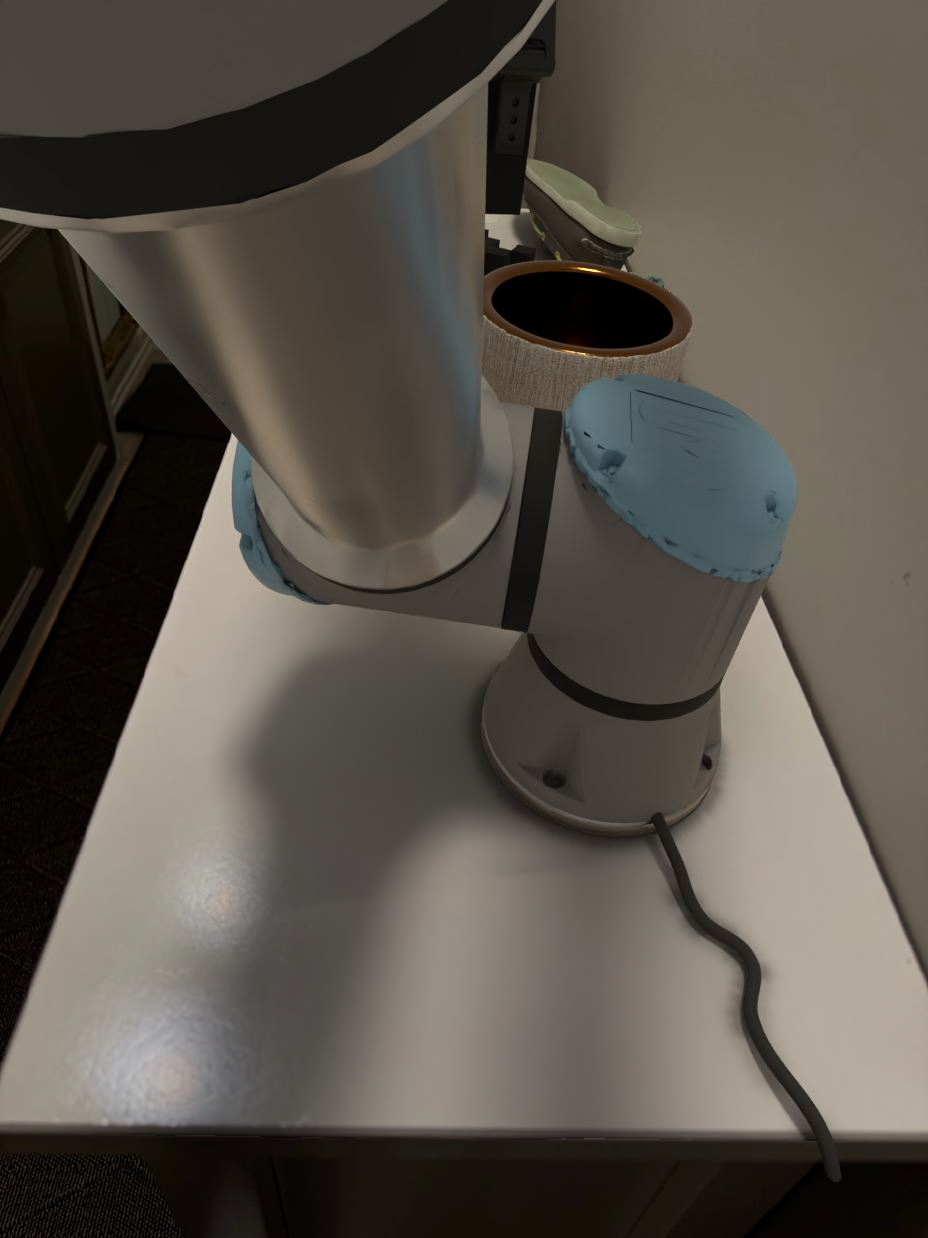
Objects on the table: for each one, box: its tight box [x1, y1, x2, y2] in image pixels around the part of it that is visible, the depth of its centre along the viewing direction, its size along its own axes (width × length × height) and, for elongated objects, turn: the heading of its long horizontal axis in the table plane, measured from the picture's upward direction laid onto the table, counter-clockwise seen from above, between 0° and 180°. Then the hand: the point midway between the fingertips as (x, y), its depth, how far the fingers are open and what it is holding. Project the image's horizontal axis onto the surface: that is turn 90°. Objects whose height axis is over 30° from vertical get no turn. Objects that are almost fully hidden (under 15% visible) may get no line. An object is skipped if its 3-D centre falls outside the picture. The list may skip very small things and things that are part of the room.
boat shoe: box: [522, 158, 643, 270], centre depth 113 cm, size 11×29×9 cm, turn 10°
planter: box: [482, 259, 694, 412], centre depth 73 cm, size 18×18×16 cm
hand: (470, 173), depth 53 cm, fingers open, 13 cm apart
